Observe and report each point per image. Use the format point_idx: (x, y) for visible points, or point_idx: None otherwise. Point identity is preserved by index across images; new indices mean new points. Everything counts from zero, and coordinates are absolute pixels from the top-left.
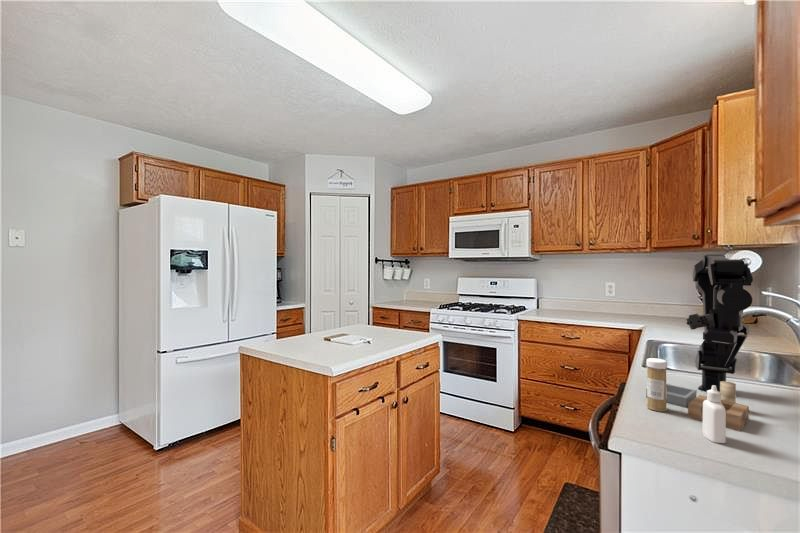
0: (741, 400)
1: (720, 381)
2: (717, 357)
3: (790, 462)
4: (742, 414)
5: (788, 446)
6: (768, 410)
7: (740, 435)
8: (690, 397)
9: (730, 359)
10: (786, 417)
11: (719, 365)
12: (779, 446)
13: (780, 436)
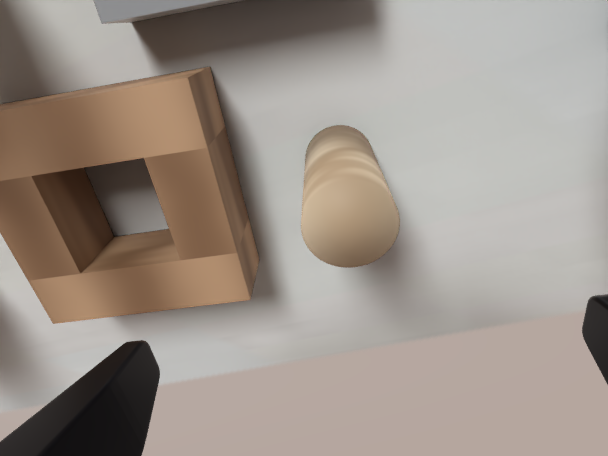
0: (569, 146)
1: (346, 182)
2: (19, 438)
3: (8, 406)
4: (103, 315)
5: None
6: (481, 264)
7: None
8: (210, 3)
9: (589, 322)
10: (434, 321)
11: (121, 349)
12: None
13: (185, 355)
